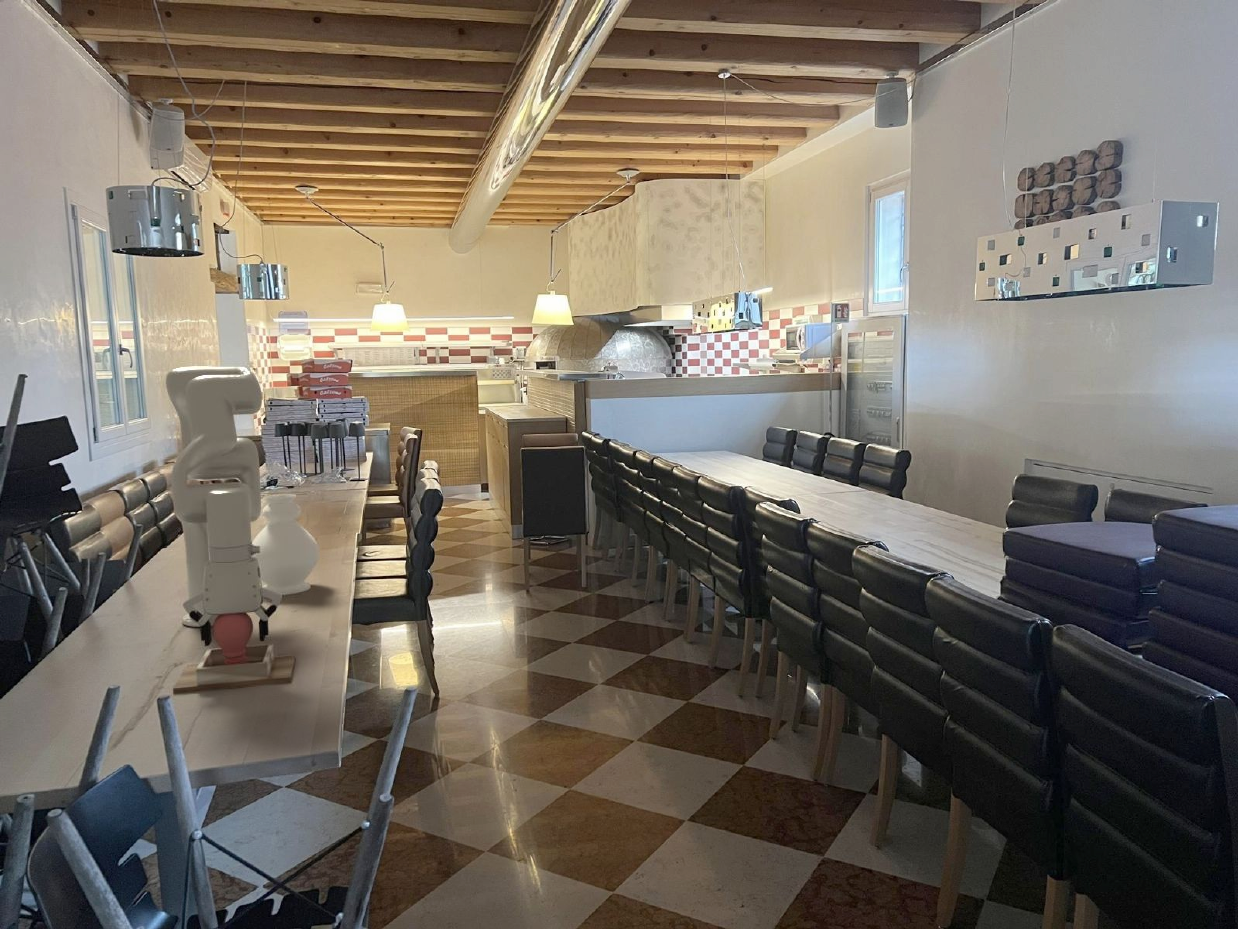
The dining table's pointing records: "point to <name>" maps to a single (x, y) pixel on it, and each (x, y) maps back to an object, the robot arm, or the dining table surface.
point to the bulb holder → (236, 670)
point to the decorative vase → (285, 547)
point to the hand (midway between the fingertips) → (235, 641)
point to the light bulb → (233, 636)
